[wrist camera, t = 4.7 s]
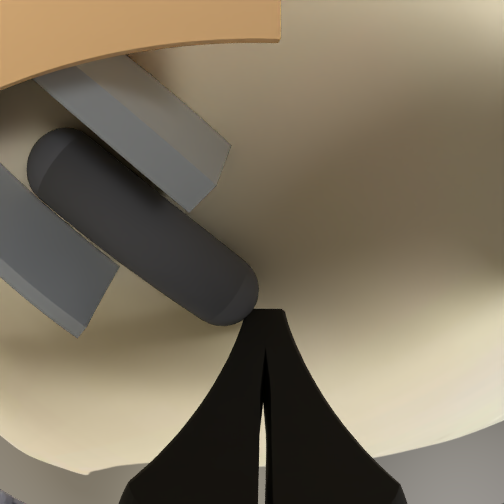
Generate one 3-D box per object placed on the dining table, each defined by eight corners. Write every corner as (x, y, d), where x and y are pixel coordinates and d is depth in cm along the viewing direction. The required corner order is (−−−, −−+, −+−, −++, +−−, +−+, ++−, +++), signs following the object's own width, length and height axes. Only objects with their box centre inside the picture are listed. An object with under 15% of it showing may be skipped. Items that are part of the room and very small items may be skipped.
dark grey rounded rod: (271, 268, 11) (276, 311, 9) (227, 306, 11) (225, 351, 10) (72, 108, 8) (32, 119, 6) (41, 163, 9) (2, 187, 7)
